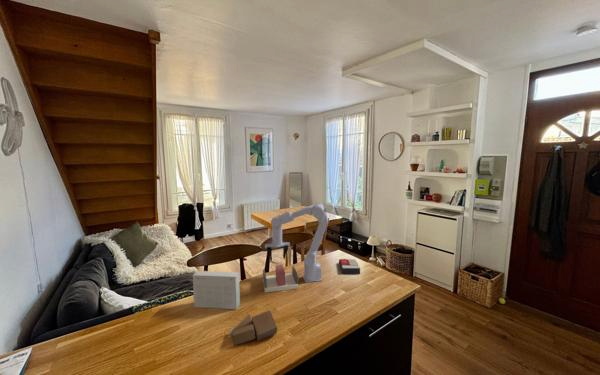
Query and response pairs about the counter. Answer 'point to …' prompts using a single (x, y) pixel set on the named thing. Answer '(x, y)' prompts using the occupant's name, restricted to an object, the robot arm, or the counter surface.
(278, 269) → the burgundy book
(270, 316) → the wooden block
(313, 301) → the counter surface
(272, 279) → the grey open rack
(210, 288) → the skincare box
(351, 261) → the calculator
